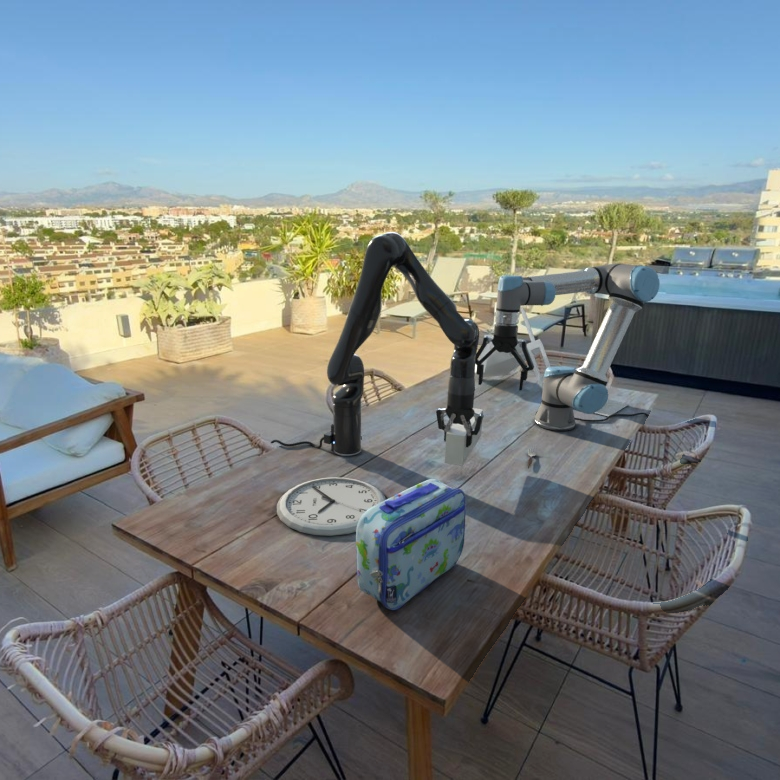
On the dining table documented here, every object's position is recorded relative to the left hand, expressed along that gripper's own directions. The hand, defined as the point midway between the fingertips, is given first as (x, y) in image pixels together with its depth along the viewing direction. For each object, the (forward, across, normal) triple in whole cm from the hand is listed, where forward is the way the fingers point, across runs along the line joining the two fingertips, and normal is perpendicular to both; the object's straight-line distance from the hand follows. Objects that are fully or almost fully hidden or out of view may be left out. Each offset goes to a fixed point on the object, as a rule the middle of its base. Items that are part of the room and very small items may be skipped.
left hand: (457, 444), depth 154 cm
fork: (+12, +19, +24) cm, 33 cm away
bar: (+5, 0, +9) cm, 10 cm away
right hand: (-10, +6, +30) cm, 32 cm away
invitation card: (+12, +40, +93) cm, 102 cm away
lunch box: (+12, +4, -50) cm, 51 cm away
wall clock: (+12, -27, -28) cm, 41 cm away
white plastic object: (+12, -2, +108) cm, 109 cm away
